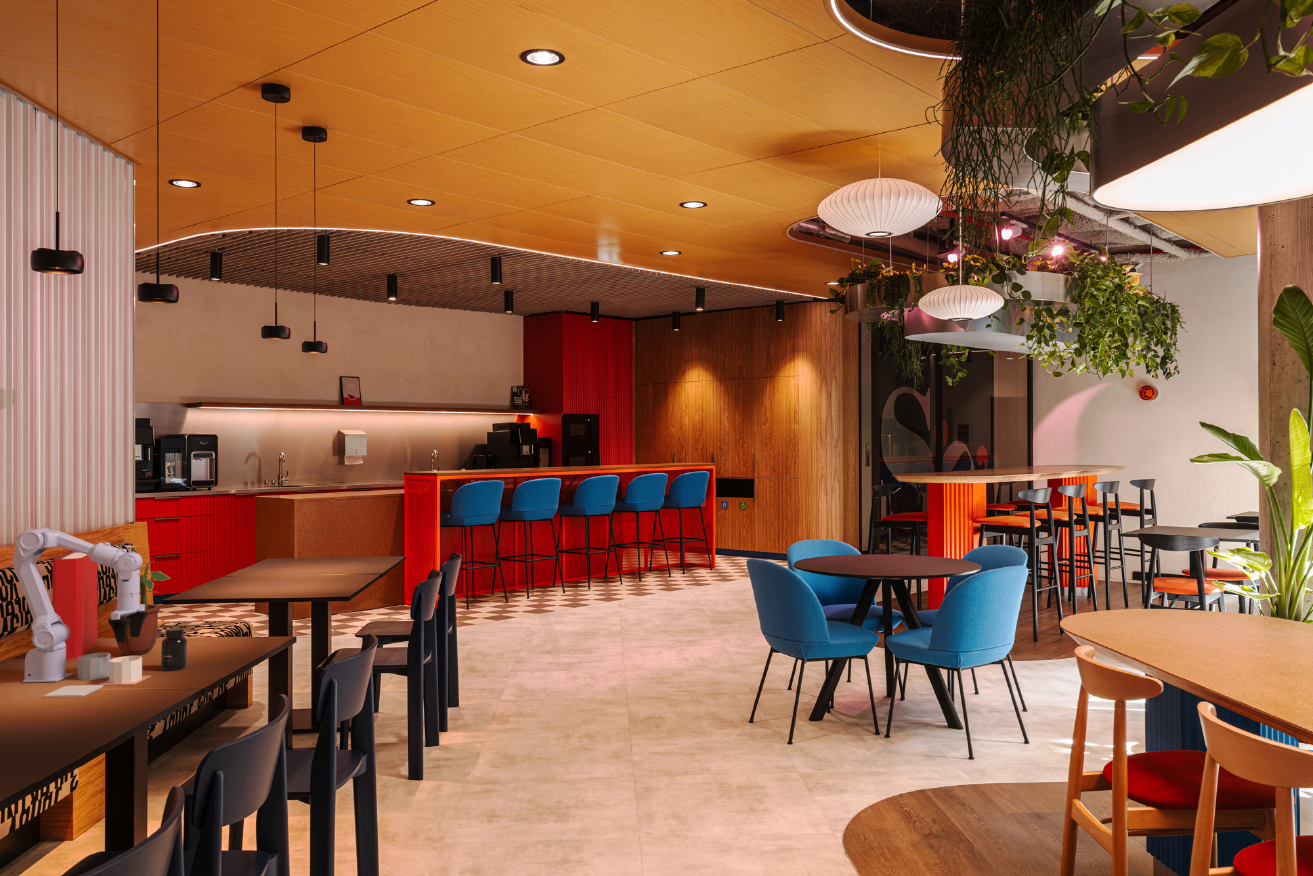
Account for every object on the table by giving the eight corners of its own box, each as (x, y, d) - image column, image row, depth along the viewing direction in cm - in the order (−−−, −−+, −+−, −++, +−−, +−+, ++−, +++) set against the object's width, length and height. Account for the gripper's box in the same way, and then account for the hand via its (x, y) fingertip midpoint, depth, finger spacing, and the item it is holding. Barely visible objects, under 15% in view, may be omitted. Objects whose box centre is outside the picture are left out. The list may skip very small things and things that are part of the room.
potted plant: (144, 658, 280) (145, 548, 281) (96, 658, 281) (97, 548, 281) (175, 646, 298) (176, 542, 298) (130, 646, 298) (130, 543, 299)
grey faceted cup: (71, 680, 253) (72, 659, 253) (87, 673, 261) (88, 653, 261) (100, 679, 254) (100, 659, 254) (115, 672, 262) (115, 652, 262)
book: (69, 643, 303) (70, 550, 303) (96, 641, 306) (97, 549, 306) (50, 660, 278) (51, 559, 278) (80, 658, 281) (81, 558, 281)
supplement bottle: (160, 672, 262) (160, 632, 262) (161, 667, 268) (161, 628, 268) (186, 669, 265) (186, 630, 266) (187, 664, 271) (187, 626, 272)
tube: (99, 685, 247) (99, 663, 247) (117, 677, 257) (117, 655, 257) (133, 685, 248) (134, 662, 248) (151, 676, 257) (151, 655, 258)
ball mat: (43, 697, 236) (43, 695, 236) (65, 687, 246) (65, 685, 246) (82, 696, 236) (82, 694, 236) (102, 686, 246) (103, 685, 246)
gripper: (129, 597, 253) (128, 644, 253) (155, 589, 267) (154, 634, 267) (103, 597, 253) (103, 645, 252) (131, 589, 267) (131, 634, 267)
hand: (128, 639), depth 260 cm, fingers open, 7 cm apart
